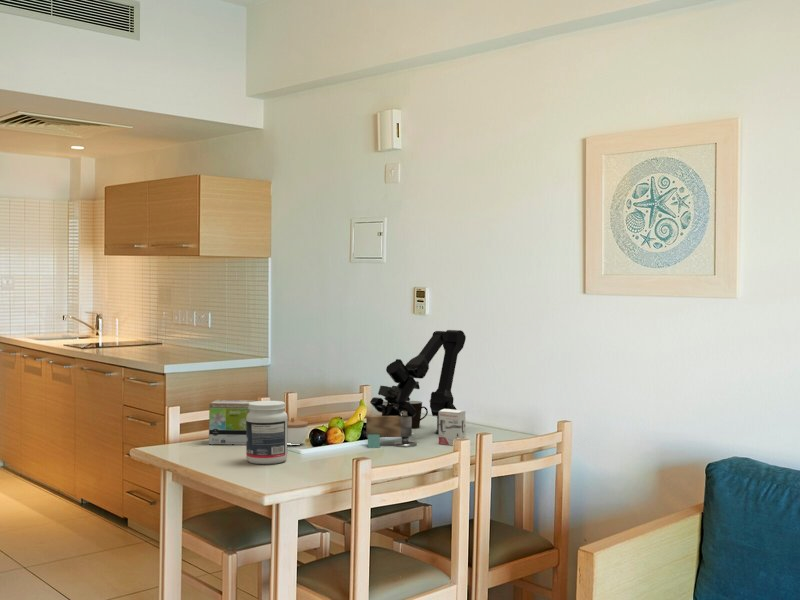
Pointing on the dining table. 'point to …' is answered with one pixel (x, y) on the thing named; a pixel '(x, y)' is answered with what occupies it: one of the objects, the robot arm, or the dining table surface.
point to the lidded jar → (296, 431)
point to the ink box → (451, 425)
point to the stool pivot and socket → (375, 443)
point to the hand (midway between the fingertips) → (380, 426)
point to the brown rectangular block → (389, 425)
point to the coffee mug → (416, 418)
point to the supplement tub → (266, 432)
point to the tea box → (228, 421)
